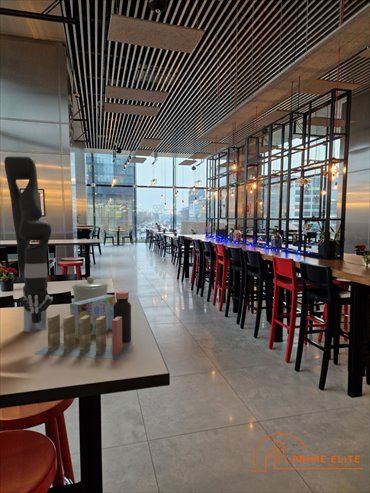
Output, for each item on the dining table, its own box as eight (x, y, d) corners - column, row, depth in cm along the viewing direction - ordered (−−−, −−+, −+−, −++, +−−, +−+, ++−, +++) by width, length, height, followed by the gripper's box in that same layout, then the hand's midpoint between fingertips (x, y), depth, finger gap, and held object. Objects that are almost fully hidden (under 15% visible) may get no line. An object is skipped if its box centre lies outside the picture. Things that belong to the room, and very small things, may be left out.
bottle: (123, 346, 119) (122, 294, 118) (110, 343, 123) (109, 292, 122) (134, 341, 125) (134, 291, 124) (121, 338, 128) (121, 290, 128)
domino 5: (112, 354, 109) (112, 320, 108) (117, 349, 114) (117, 316, 113) (117, 354, 108) (117, 320, 108) (122, 349, 113) (121, 316, 113)
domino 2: (63, 351, 111) (63, 318, 111) (70, 346, 116) (70, 314, 116) (68, 352, 111) (68, 318, 110) (75, 347, 116) (74, 314, 115)
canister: (113, 313, 169) (113, 274, 168) (101, 323, 151) (100, 279, 150) (81, 312, 170) (81, 274, 170) (65, 321, 152) (64, 278, 152)
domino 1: (48, 350, 112) (47, 317, 111) (55, 345, 117) (55, 314, 116) (52, 351, 112) (52, 317, 111) (60, 346, 117) (59, 314, 116)
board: (34, 356, 109) (34, 354, 109) (53, 344, 121) (53, 342, 121) (122, 362, 105) (122, 359, 105) (133, 349, 116) (133, 346, 116)
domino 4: (95, 353, 109) (95, 319, 109) (101, 348, 114) (101, 316, 114) (100, 353, 109) (100, 319, 109) (106, 348, 114) (106, 316, 114)
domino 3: (79, 352, 110) (79, 319, 110) (86, 347, 115) (85, 315, 115) (84, 352, 110) (84, 319, 110) (90, 347, 115) (90, 315, 115)
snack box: (107, 326, 146) (107, 294, 145) (116, 328, 143) (116, 295, 142) (70, 339, 127) (69, 302, 127) (79, 341, 125) (79, 304, 124)
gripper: (12, 276, 111) (13, 324, 112) (46, 277, 109) (47, 326, 110) (26, 274, 119) (26, 319, 119) (58, 274, 117) (59, 320, 117)
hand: (36, 322), depth 115 cm, fingers closed
